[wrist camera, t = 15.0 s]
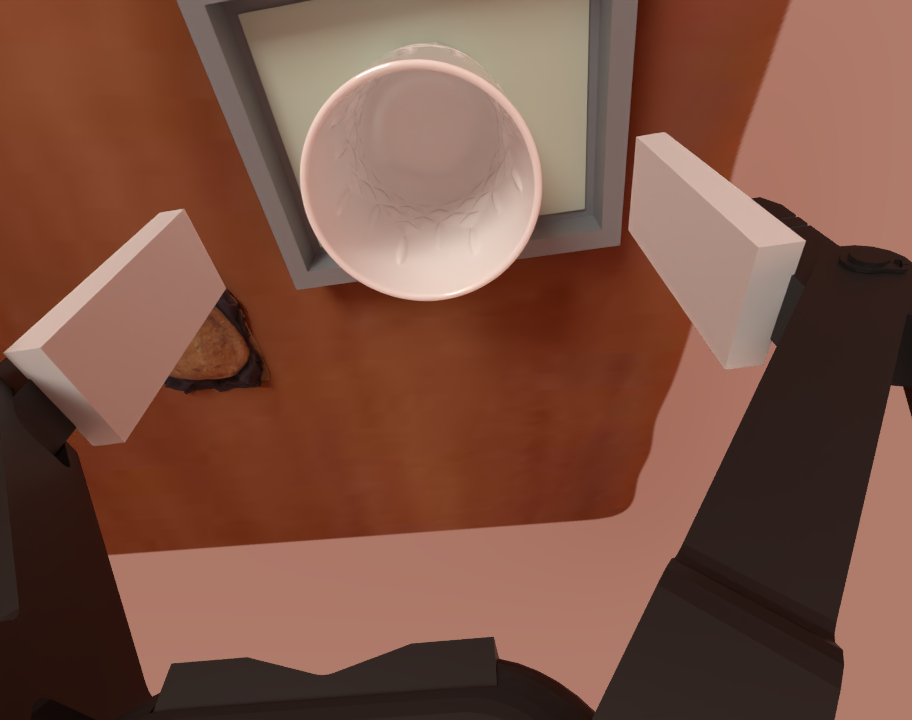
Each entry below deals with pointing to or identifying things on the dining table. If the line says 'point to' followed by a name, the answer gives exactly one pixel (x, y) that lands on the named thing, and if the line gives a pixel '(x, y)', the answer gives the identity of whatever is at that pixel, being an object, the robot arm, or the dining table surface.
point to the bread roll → (220, 353)
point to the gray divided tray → (414, 22)
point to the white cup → (421, 175)
